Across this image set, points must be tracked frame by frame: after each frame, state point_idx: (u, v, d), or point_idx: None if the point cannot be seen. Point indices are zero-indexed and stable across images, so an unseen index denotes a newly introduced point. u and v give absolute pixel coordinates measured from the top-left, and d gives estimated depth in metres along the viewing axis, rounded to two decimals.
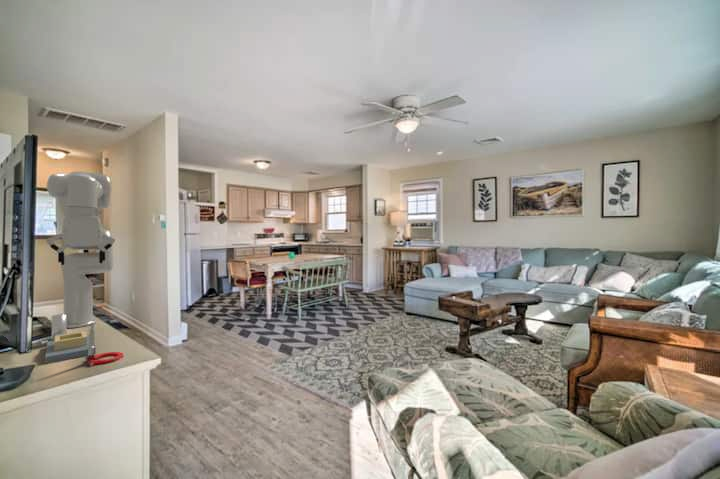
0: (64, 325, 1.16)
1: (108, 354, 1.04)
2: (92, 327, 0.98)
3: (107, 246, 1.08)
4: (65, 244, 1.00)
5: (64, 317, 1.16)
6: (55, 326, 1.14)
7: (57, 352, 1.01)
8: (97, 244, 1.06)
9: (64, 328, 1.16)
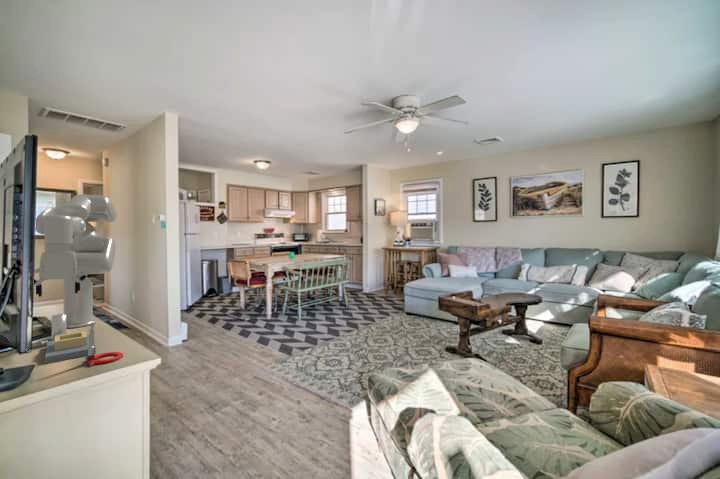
0: (64, 325, 1.16)
1: (108, 354, 1.04)
2: (92, 327, 0.98)
3: (82, 277, 1.19)
4: (42, 278, 1.11)
5: (64, 317, 1.16)
6: (55, 326, 1.14)
7: (57, 352, 1.01)
8: (72, 276, 1.16)
9: (64, 328, 1.16)
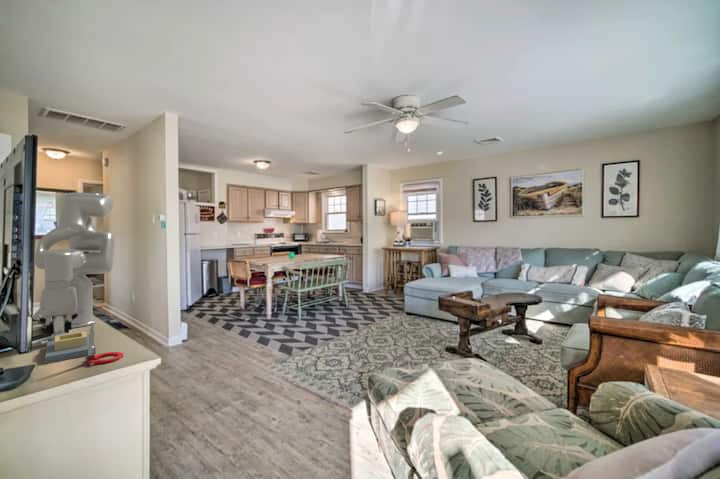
0: (64, 325, 1.16)
1: (108, 354, 1.04)
2: (92, 327, 0.98)
3: (73, 316, 1.18)
4: (42, 315, 1.11)
5: (64, 317, 1.16)
6: (55, 326, 1.14)
7: (57, 352, 1.01)
8: (72, 312, 1.17)
9: (64, 328, 1.16)
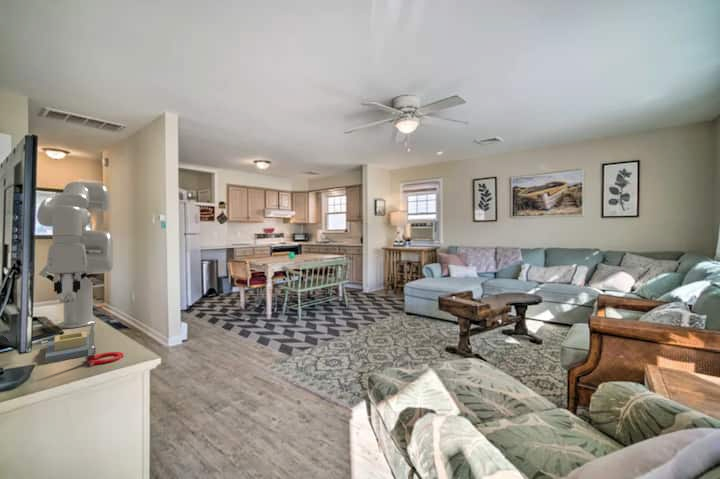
0: (73, 284, 1.09)
1: (108, 354, 1.04)
2: (92, 327, 0.98)
3: (82, 275, 1.11)
4: (50, 271, 1.05)
5: (73, 275, 1.09)
6: (64, 284, 1.07)
7: (57, 352, 1.01)
8: (81, 270, 1.10)
9: (73, 287, 1.09)
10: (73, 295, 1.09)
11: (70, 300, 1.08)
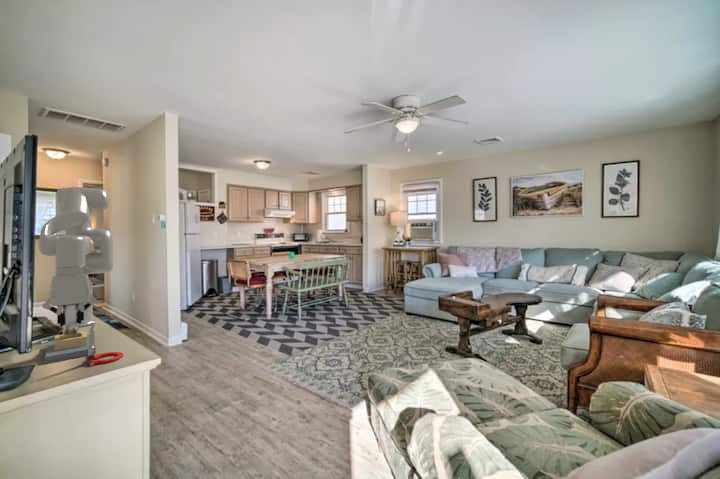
0: (76, 315, 1.07)
1: (108, 354, 1.04)
2: (92, 327, 0.98)
3: (86, 306, 1.10)
4: (53, 304, 1.03)
5: (76, 306, 1.07)
6: (67, 316, 1.06)
7: (57, 352, 1.01)
8: (85, 301, 1.09)
9: (76, 318, 1.08)
10: (77, 326, 1.08)
11: (74, 332, 1.07)
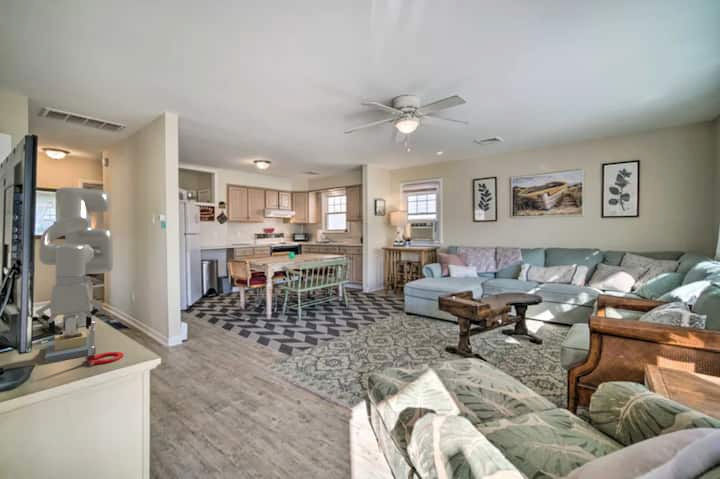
0: (76, 327, 1.08)
1: (108, 354, 1.04)
2: (92, 327, 0.98)
3: (93, 311, 1.11)
4: (53, 313, 1.03)
5: (76, 318, 1.08)
6: (67, 328, 1.06)
7: (57, 352, 1.01)
8: (85, 310, 1.09)
9: (76, 330, 1.08)
10: None
11: None
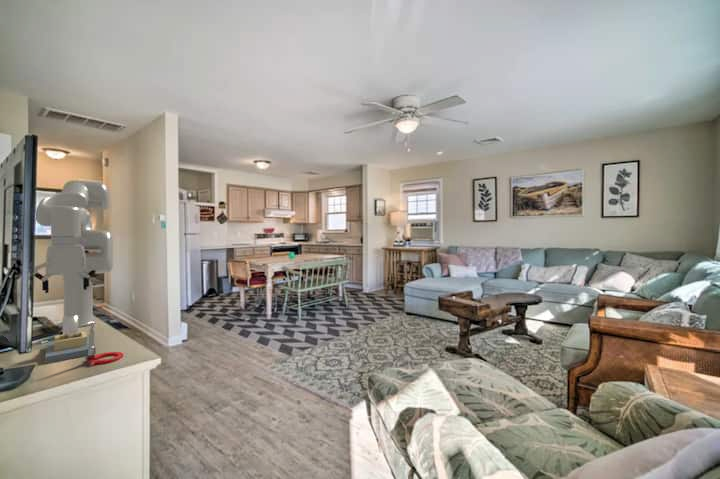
0: (76, 327, 1.08)
1: (108, 354, 1.04)
2: (92, 327, 0.98)
3: (91, 273, 1.12)
4: (49, 273, 1.03)
5: (76, 318, 1.08)
6: (67, 328, 1.06)
7: (57, 352, 1.01)
8: (81, 271, 1.09)
9: (76, 330, 1.08)
10: None
11: None
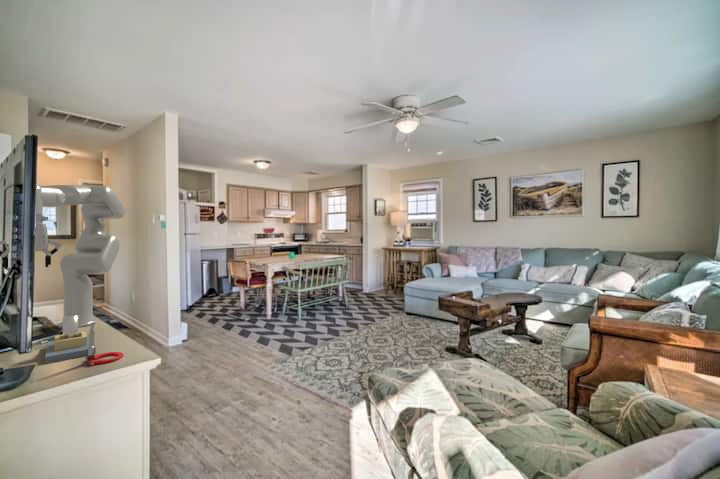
0: (76, 327, 1.08)
1: (108, 354, 1.04)
2: (92, 327, 0.98)
3: (53, 251, 1.13)
4: None
5: (76, 318, 1.08)
6: (67, 328, 1.06)
7: (57, 352, 1.01)
8: (42, 249, 1.11)
9: (76, 330, 1.08)
10: None
11: None
